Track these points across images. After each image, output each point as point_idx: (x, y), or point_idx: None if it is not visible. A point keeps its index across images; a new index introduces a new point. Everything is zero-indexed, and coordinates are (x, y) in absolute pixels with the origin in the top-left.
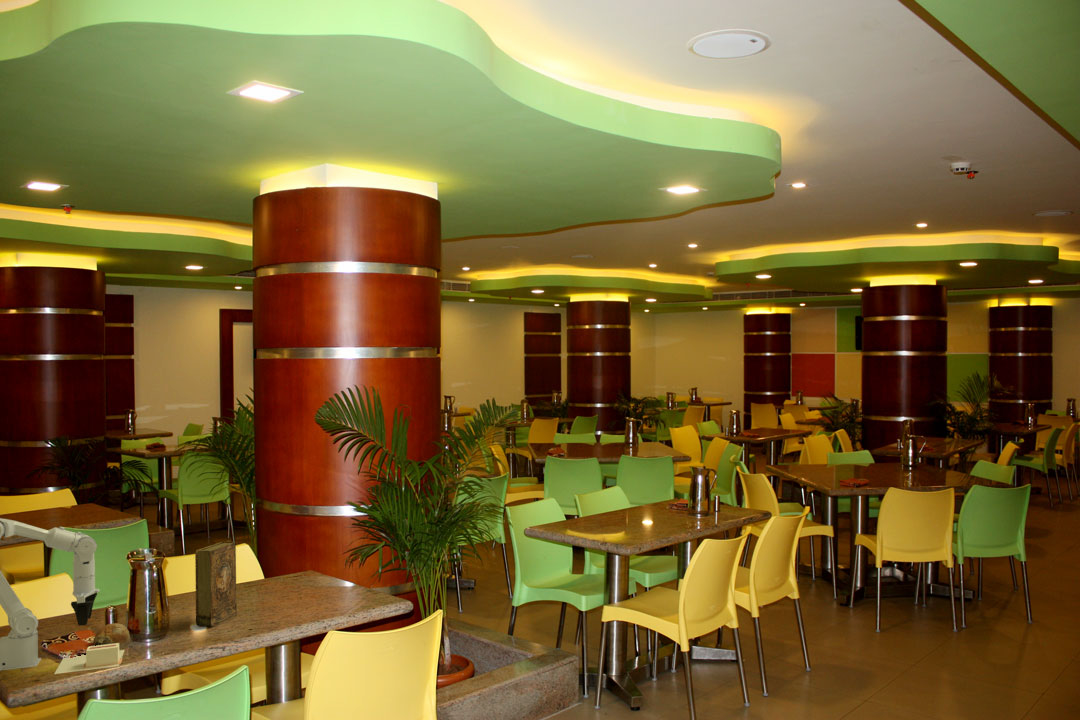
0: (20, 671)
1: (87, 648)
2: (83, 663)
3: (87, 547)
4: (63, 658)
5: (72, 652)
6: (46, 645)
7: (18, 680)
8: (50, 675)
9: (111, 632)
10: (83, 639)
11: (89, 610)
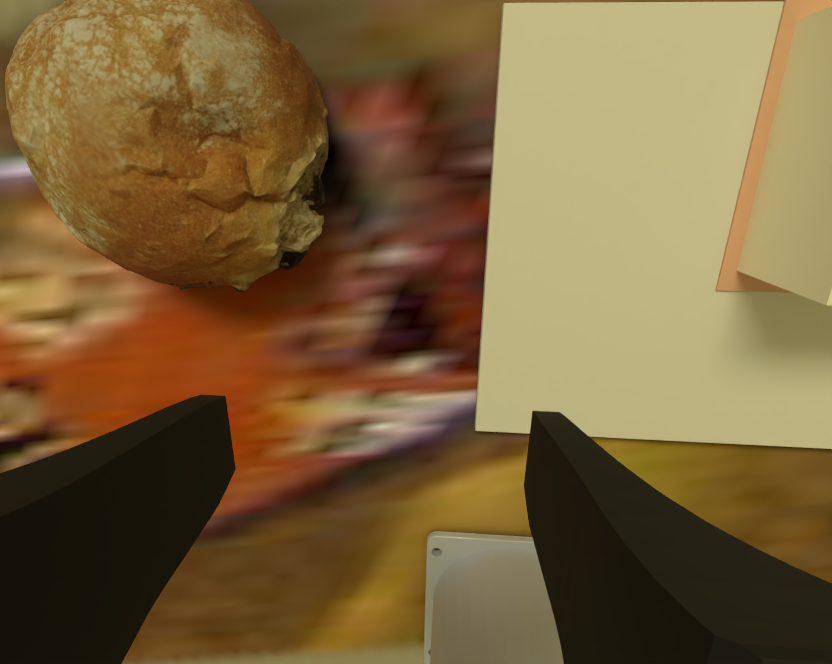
0: None
1: None
2: (727, 301)
3: None
4: (512, 431)
5: (340, 391)
6: None
7: None
8: (807, 461)
9: (240, 140)
10: (48, 356)
11: (162, 462)
